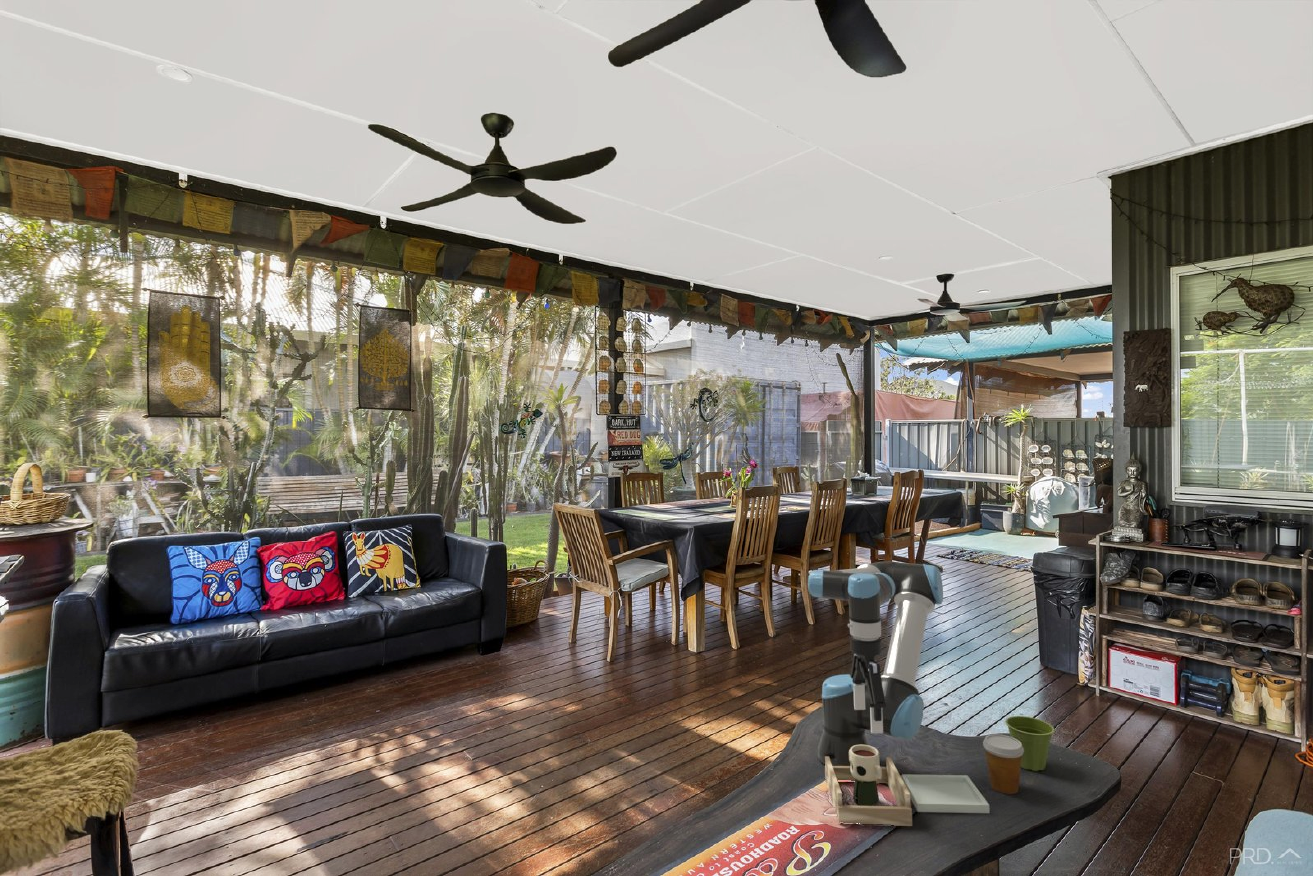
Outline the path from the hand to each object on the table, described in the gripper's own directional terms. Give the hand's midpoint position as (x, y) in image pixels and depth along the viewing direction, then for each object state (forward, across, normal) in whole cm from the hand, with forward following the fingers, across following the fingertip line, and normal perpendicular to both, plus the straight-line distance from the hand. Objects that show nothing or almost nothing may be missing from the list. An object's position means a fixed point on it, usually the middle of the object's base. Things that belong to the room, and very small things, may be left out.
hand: (868, 720), depth 165 cm
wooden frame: (+21, -1, -1) cm, 21 cm away
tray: (+21, -2, +19) cm, 28 cm away
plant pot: (+21, -16, +50) cm, 56 cm away
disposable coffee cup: (+21, -5, +37) cm, 43 cm away
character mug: (+21, -1, -1) cm, 21 cm away
